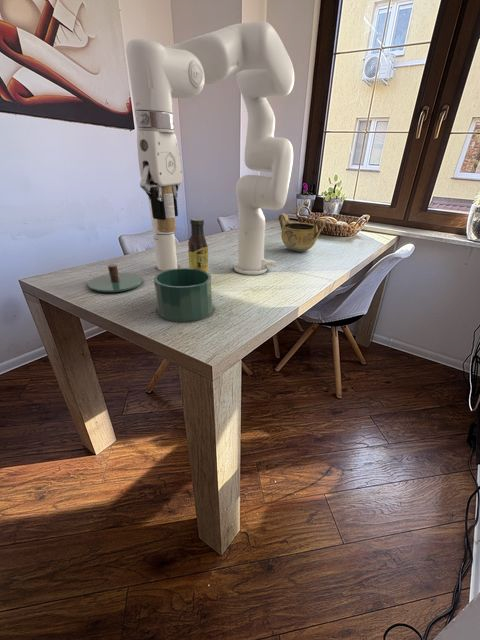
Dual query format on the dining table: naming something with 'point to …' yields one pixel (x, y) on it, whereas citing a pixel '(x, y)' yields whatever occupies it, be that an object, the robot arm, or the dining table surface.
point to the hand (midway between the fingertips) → (165, 216)
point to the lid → (114, 281)
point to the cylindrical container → (163, 246)
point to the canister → (183, 294)
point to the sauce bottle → (198, 246)
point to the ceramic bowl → (299, 234)
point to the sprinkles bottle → (167, 210)
